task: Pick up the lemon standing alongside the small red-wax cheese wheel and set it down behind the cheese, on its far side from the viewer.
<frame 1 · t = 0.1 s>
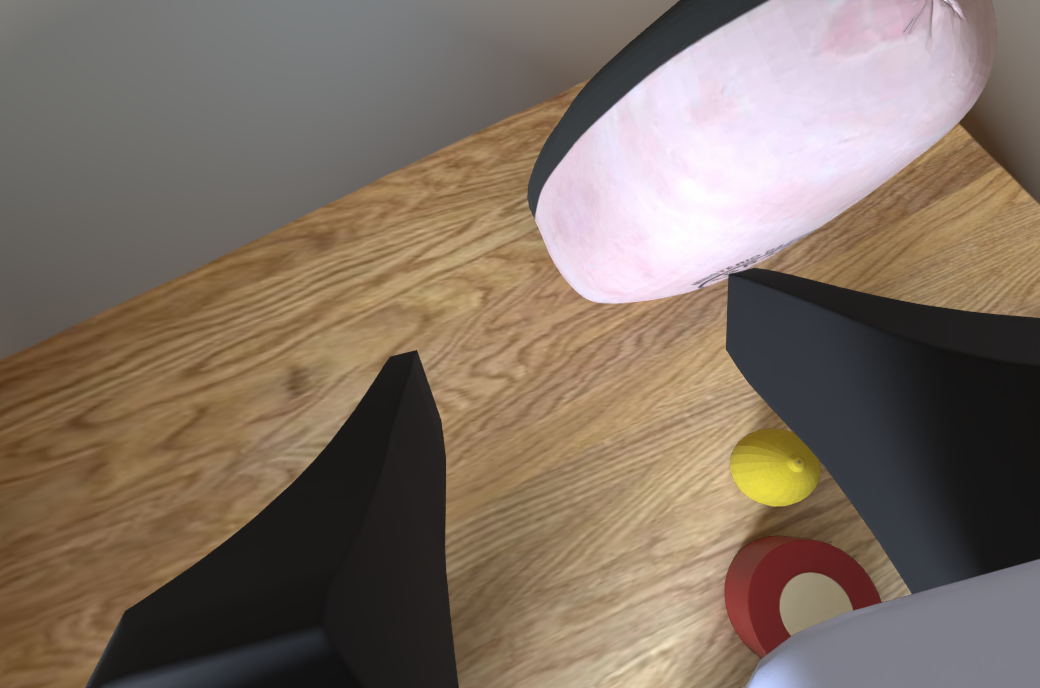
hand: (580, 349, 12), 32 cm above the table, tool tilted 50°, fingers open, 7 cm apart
lemon: (749, 470, 42), on the table
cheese: (784, 599, 39), on the table
pink backpack: (655, 247, 48), on the table
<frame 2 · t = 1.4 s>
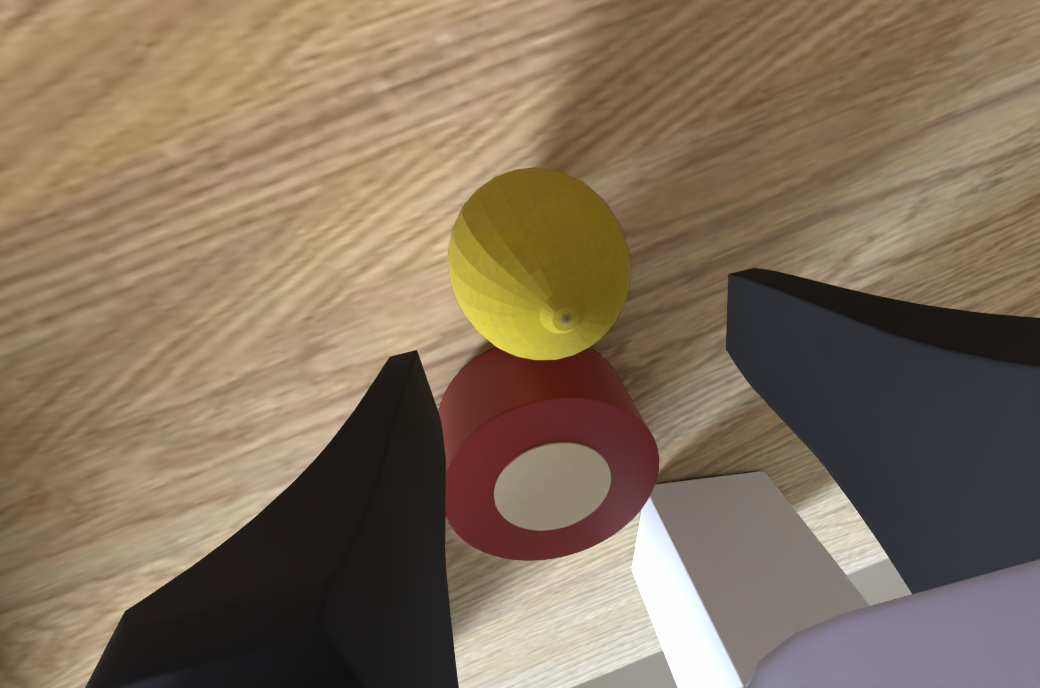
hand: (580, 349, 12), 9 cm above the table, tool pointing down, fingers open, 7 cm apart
lemon: (515, 222, 20), on the table
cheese: (532, 418, 25), on the table
milk carton: (692, 516, 31), on the table
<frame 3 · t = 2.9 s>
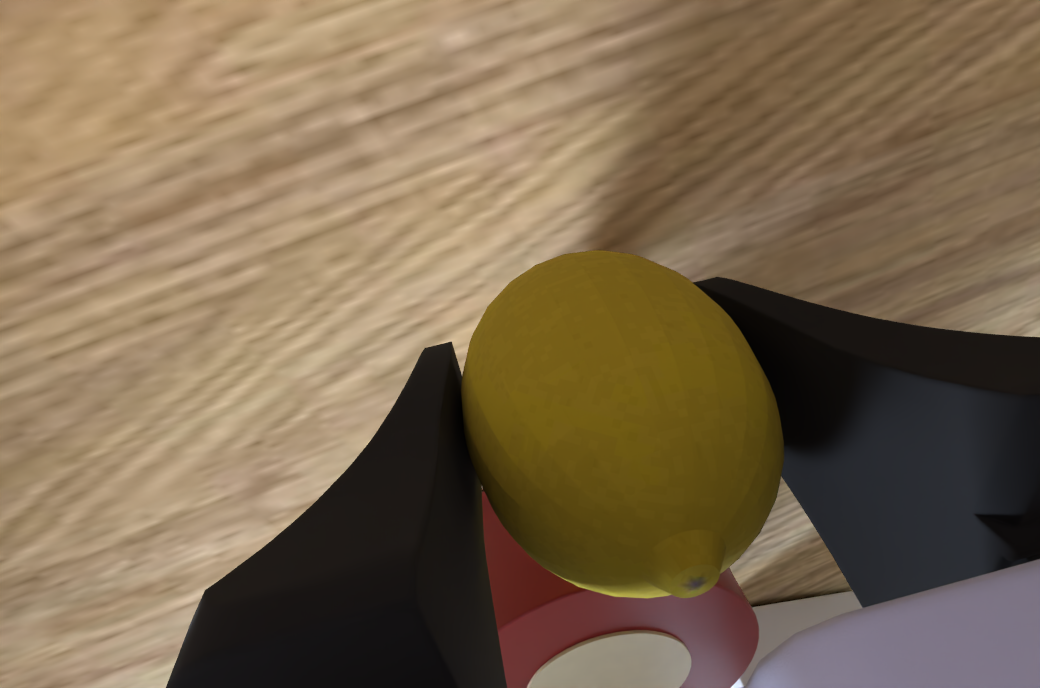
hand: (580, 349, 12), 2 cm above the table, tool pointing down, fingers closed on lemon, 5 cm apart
lemon: (556, 306, 14), on the table, touching gripper
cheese: (570, 547, 18), on the table
milk carton: (761, 639, 24), on the table
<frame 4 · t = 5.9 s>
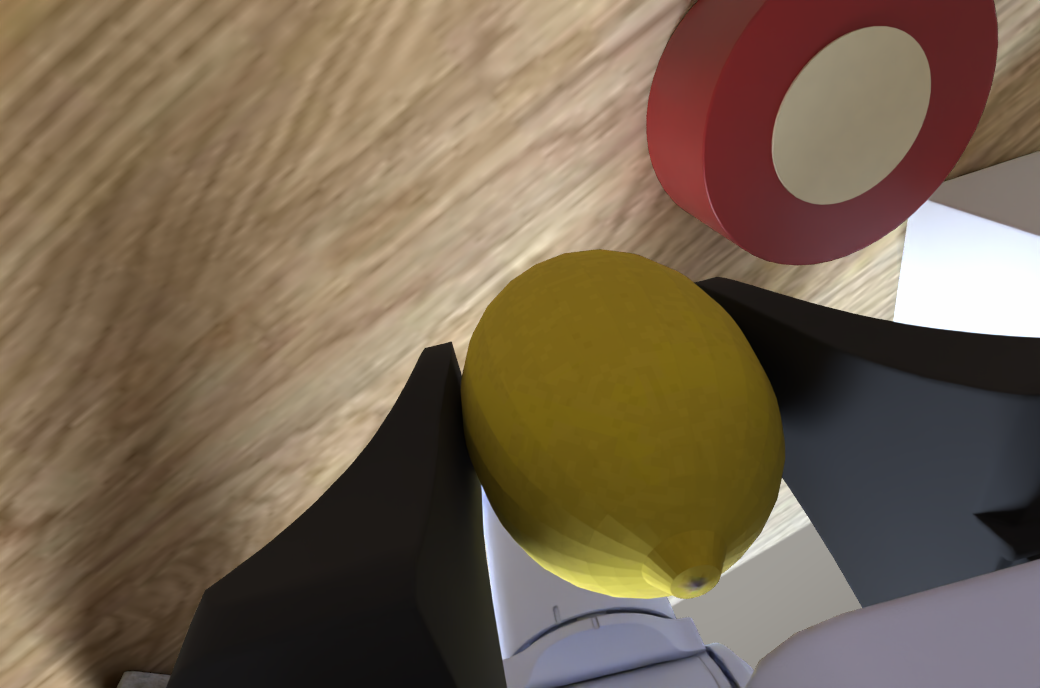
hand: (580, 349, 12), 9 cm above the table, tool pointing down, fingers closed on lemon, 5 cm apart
lemon: (556, 306, 14), point 7 cm above the table, touching gripper
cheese: (763, 105, 19), on the table
milk carton: (966, 240, 24), on the table
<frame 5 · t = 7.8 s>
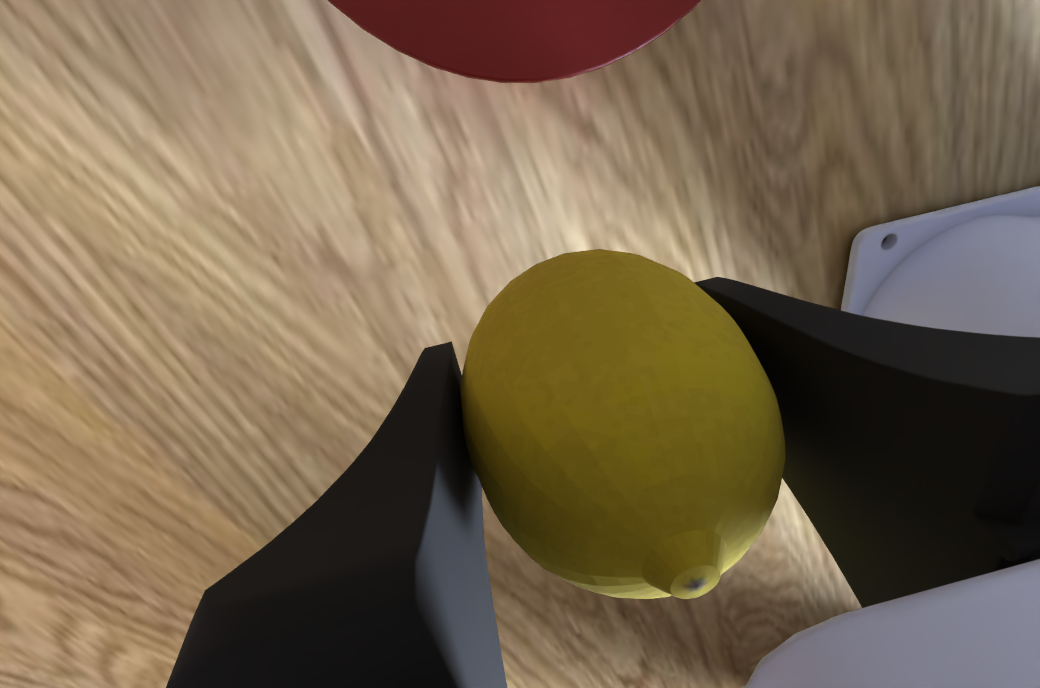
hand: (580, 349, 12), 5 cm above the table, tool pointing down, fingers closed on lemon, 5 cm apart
lemon: (556, 306, 14), point 2 cm above the table, touching gripper
when the fingers open (2 cm above the table, at t = 9.1 s): lemon stays where it is, on the table.
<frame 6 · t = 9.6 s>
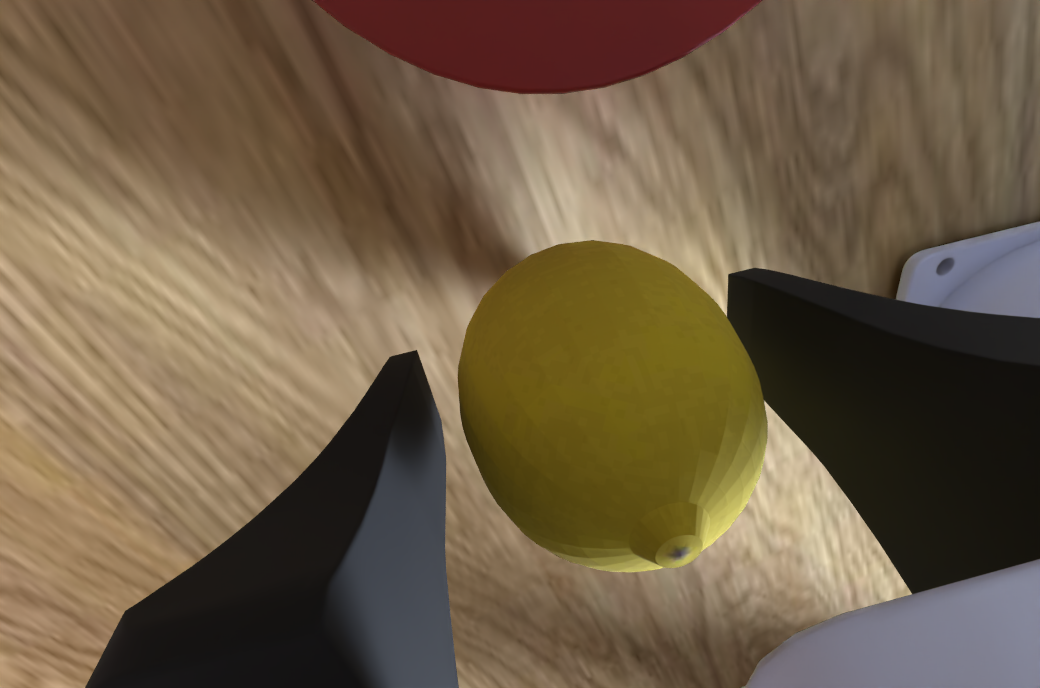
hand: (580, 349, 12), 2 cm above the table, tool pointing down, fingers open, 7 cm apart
lemon: (551, 298, 14), on the table
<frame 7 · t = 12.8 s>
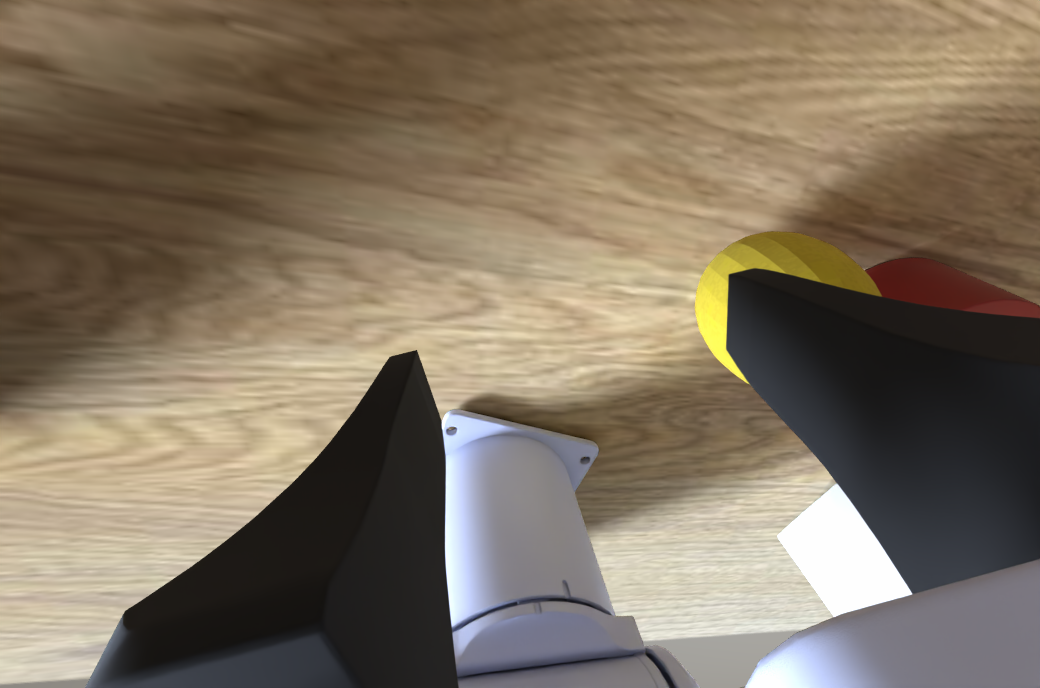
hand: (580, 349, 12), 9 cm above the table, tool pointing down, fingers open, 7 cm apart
lemon: (723, 268, 22), on the table
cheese: (874, 342, 26), on the table
milk carton: (846, 510, 33), on the table
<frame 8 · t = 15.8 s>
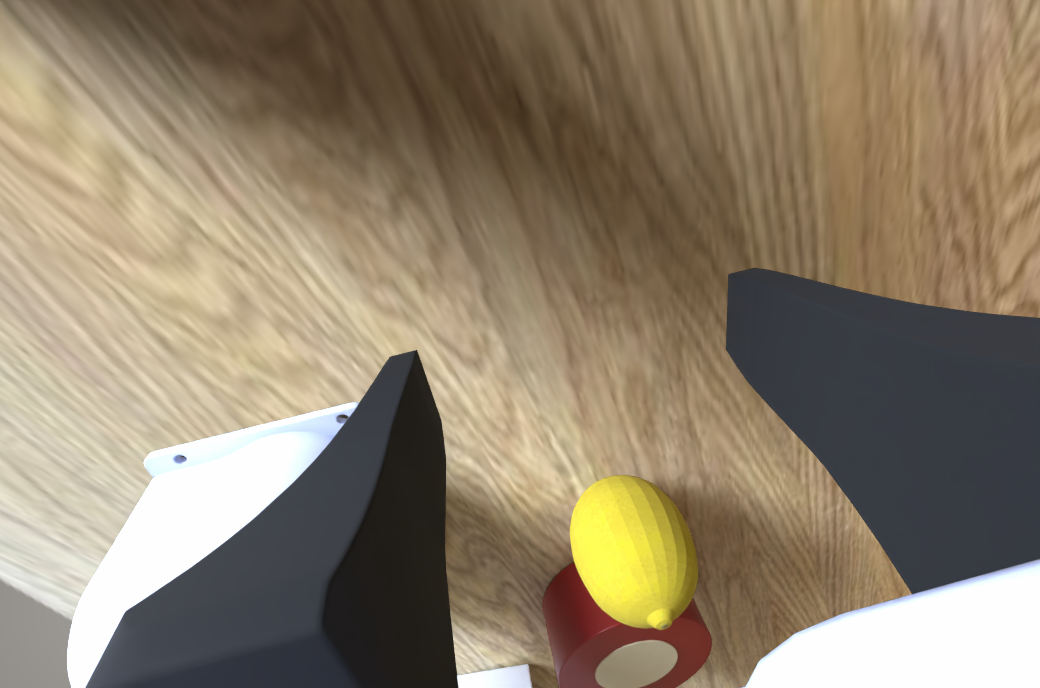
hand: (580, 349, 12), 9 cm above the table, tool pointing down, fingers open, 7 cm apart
lemon: (604, 479, 28), on the table
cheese: (611, 592, 33), on the table
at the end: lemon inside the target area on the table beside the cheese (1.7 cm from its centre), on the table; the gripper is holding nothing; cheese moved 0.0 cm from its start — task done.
